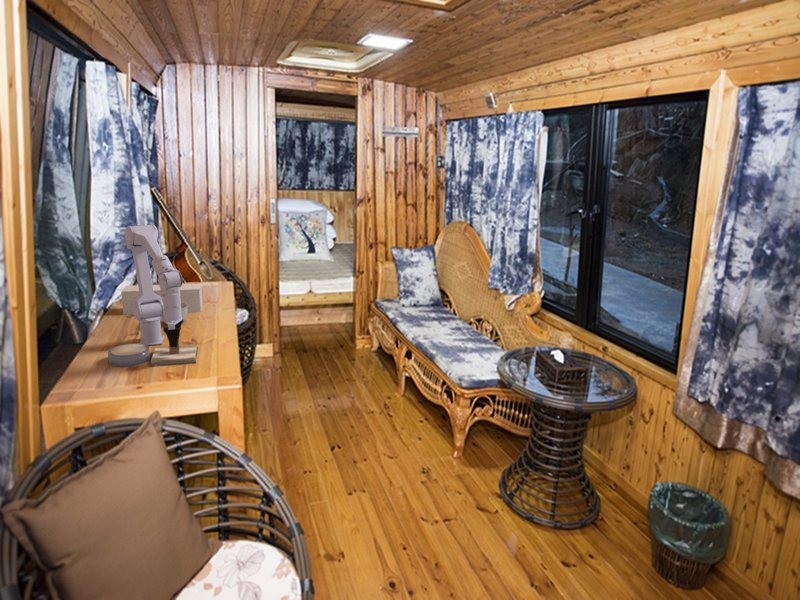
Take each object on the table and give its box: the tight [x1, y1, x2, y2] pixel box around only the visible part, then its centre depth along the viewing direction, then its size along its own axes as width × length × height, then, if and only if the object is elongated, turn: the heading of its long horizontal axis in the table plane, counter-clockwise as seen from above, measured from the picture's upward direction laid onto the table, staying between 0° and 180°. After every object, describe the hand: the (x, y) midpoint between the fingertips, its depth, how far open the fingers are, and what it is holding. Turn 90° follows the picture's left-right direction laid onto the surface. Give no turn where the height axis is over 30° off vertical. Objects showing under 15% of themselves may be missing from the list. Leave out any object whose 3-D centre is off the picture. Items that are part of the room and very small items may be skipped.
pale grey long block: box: [120, 283, 203, 315], centre depth 256 cm, size 32×11×11 cm, turn 105°
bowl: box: [107, 343, 151, 368], centre depth 197 cm, size 13×13×4 cm
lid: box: [150, 340, 198, 365], centre depth 201 cm, size 14×14×5 cm
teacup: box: [160, 302, 189, 324], centre depth 237 cm, size 14×11×8 cm
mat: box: [151, 345, 199, 367], centre depth 201 cm, size 16×14×1 cm
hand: (174, 342), depth 200 cm, fingers open, 7 cm apart
